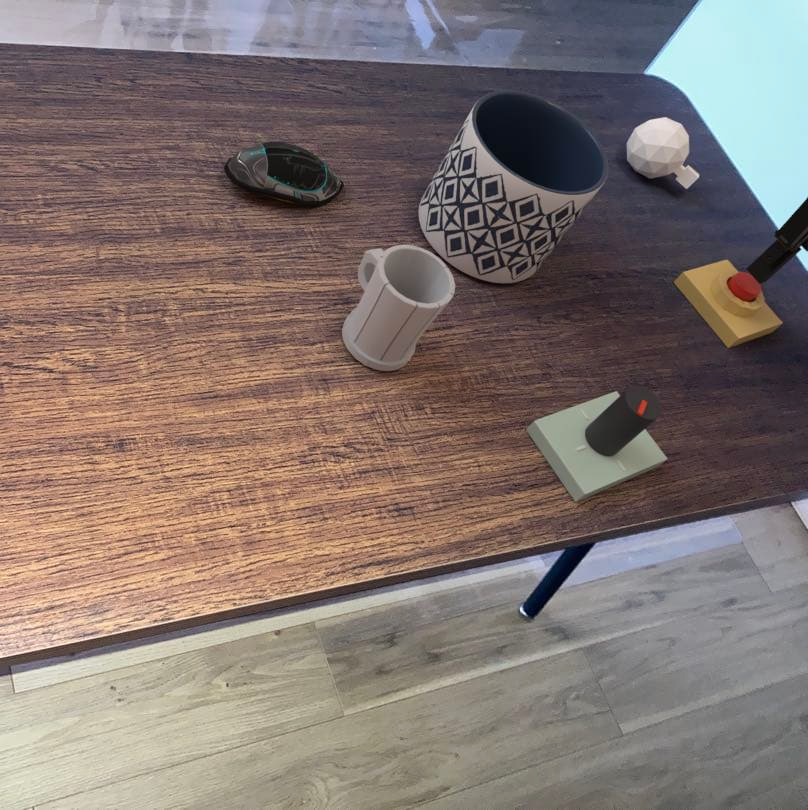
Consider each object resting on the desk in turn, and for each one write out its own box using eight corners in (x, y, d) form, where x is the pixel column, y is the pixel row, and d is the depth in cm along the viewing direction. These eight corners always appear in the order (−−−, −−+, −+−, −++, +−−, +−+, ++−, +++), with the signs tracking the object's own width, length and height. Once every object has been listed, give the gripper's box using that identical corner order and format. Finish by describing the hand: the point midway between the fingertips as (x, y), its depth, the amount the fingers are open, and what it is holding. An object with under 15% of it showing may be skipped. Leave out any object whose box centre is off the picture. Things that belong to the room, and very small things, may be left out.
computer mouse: (351, 212, 117) (367, 179, 113) (226, 208, 111) (238, 173, 107) (333, 164, 122) (348, 131, 117) (213, 158, 116) (223, 123, 111)
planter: (389, 208, 120) (442, 108, 107) (475, 171, 129) (533, 76, 116) (482, 305, 114) (549, 213, 101) (565, 259, 124) (636, 170, 111)
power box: (771, 332, 128) (792, 315, 125) (728, 348, 123) (748, 330, 120) (717, 269, 133) (735, 250, 129) (673, 282, 128) (691, 263, 125)
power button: (758, 299, 125) (767, 291, 124) (740, 304, 123) (749, 296, 122) (739, 277, 127) (748, 269, 125) (721, 282, 125) (730, 274, 124)
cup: (316, 342, 104) (353, 273, 94) (343, 292, 109) (380, 223, 99) (398, 386, 103) (442, 321, 94) (421, 334, 109) (465, 268, 99)
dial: (591, 416, 106) (633, 376, 100) (623, 438, 106) (667, 399, 99) (580, 441, 104) (622, 402, 97) (613, 463, 103) (658, 425, 96)
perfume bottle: (608, 156, 138) (668, 209, 137) (655, 107, 132) (718, 162, 131) (616, 146, 145) (672, 197, 144) (661, 100, 139) (720, 152, 138)
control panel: (607, 399, 111) (617, 389, 110) (657, 467, 108) (668, 458, 106) (525, 429, 105) (534, 419, 103) (575, 502, 101) (586, 493, 99)
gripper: (907, 112, 108) (766, 246, 127) (846, 124, 102) (707, 263, 121) (953, 156, 105) (802, 287, 124) (893, 171, 99) (744, 306, 118)
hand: (756, 275), depth 123 cm, fingers closed
